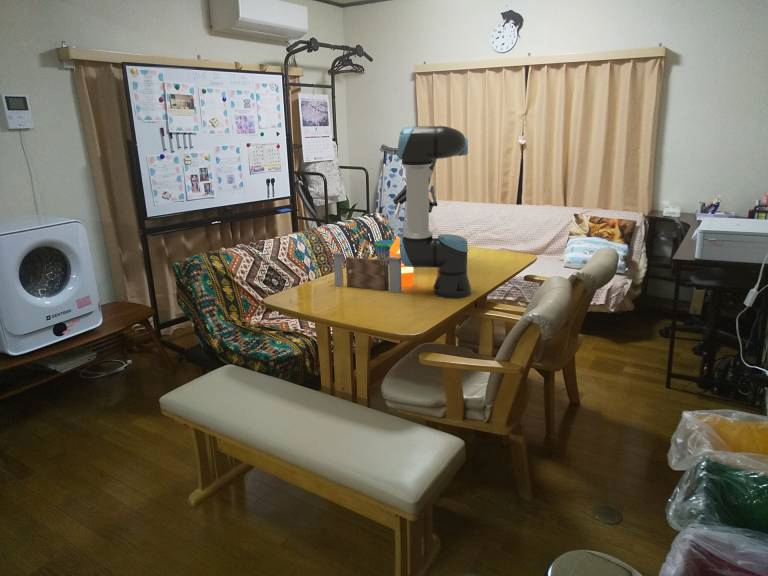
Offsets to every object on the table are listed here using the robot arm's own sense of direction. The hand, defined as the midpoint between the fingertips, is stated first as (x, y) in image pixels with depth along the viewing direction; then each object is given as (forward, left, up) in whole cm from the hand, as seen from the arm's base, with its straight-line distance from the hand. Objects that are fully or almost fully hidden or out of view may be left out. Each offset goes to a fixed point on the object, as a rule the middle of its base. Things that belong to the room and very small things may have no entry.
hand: (410, 217), depth 230 cm
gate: (+11, +23, -27) cm, 37 cm away
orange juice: (0, +12, -27) cm, 30 cm away
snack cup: (+23, -23, -27) cm, 43 cm away
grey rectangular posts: (+12, +23, -27) cm, 37 cm away
